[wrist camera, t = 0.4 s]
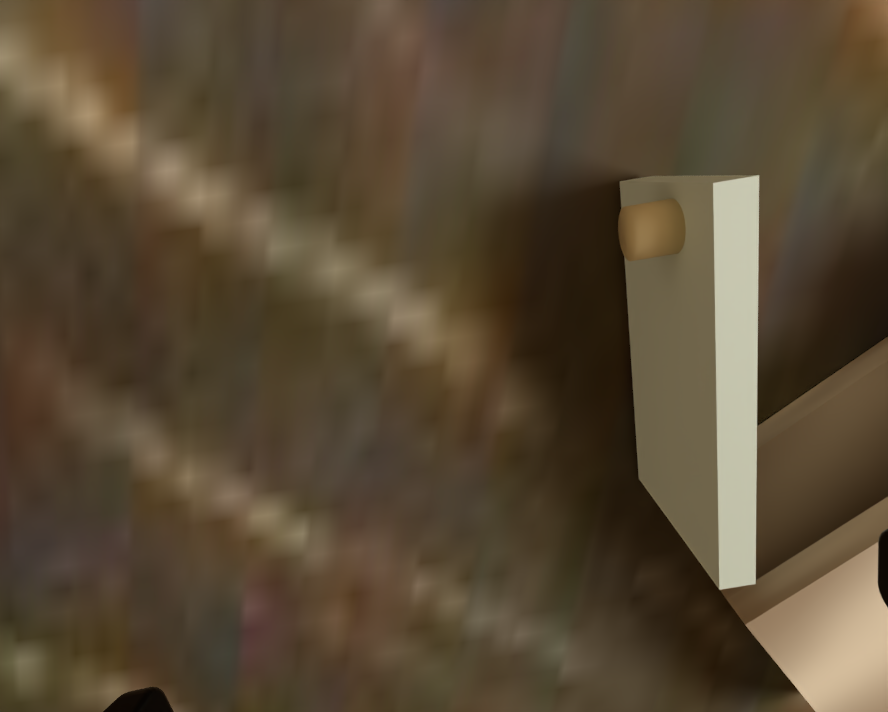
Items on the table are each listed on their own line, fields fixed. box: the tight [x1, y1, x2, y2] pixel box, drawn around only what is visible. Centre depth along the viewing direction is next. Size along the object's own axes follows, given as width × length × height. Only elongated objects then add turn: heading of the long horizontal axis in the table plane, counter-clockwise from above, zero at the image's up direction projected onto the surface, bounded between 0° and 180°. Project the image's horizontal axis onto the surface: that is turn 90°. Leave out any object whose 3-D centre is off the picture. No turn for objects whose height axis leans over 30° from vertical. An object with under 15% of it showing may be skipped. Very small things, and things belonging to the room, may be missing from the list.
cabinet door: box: [618, 175, 759, 590], centre depth 17 cm, size 2×11×6 cm, turn 9°
